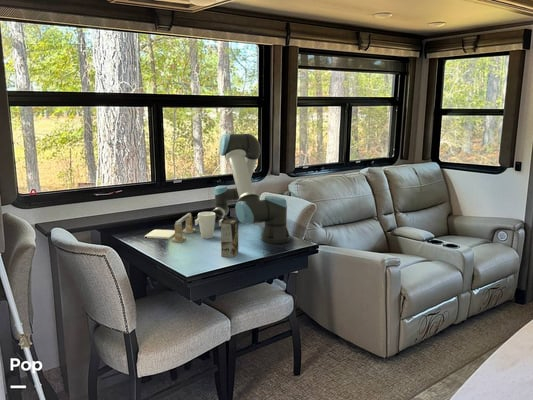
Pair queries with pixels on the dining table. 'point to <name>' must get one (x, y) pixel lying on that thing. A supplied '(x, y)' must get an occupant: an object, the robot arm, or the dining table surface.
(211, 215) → the foam cup
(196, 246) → the dining table surface
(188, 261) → the dining table surface
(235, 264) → the dining table surface
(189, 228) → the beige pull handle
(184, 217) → the steel bar
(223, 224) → the coffee box
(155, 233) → the cream pad
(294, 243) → the dining table surface
